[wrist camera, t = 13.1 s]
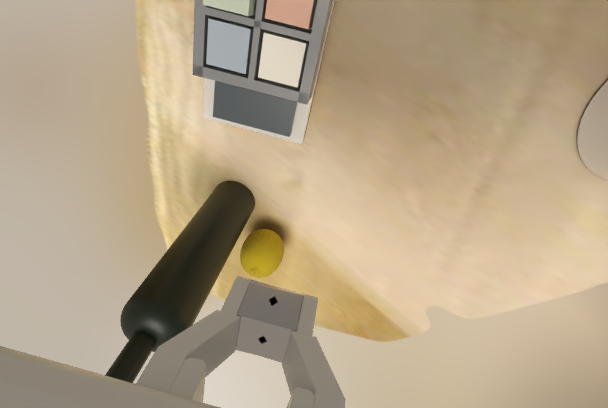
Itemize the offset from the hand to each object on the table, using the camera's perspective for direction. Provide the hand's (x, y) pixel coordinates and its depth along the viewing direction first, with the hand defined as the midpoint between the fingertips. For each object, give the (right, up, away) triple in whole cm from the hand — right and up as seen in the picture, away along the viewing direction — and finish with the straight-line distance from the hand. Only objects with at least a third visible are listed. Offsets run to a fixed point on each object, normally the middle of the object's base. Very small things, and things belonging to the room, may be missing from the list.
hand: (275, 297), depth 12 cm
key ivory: (-1, +18, +21) cm, 28 cm away
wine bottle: (-8, +4, +34) cm, 35 cm away
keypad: (-3, +20, +23) cm, 30 cm away
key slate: (-6, +19, +21) cm, 29 cm away
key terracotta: (0, +22, +19) cm, 29 cm away
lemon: (-4, -1, +36) cm, 36 cm away
